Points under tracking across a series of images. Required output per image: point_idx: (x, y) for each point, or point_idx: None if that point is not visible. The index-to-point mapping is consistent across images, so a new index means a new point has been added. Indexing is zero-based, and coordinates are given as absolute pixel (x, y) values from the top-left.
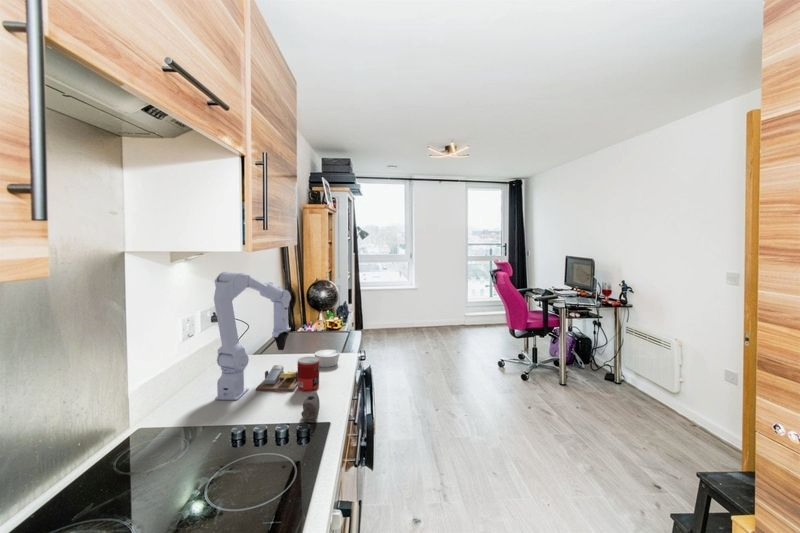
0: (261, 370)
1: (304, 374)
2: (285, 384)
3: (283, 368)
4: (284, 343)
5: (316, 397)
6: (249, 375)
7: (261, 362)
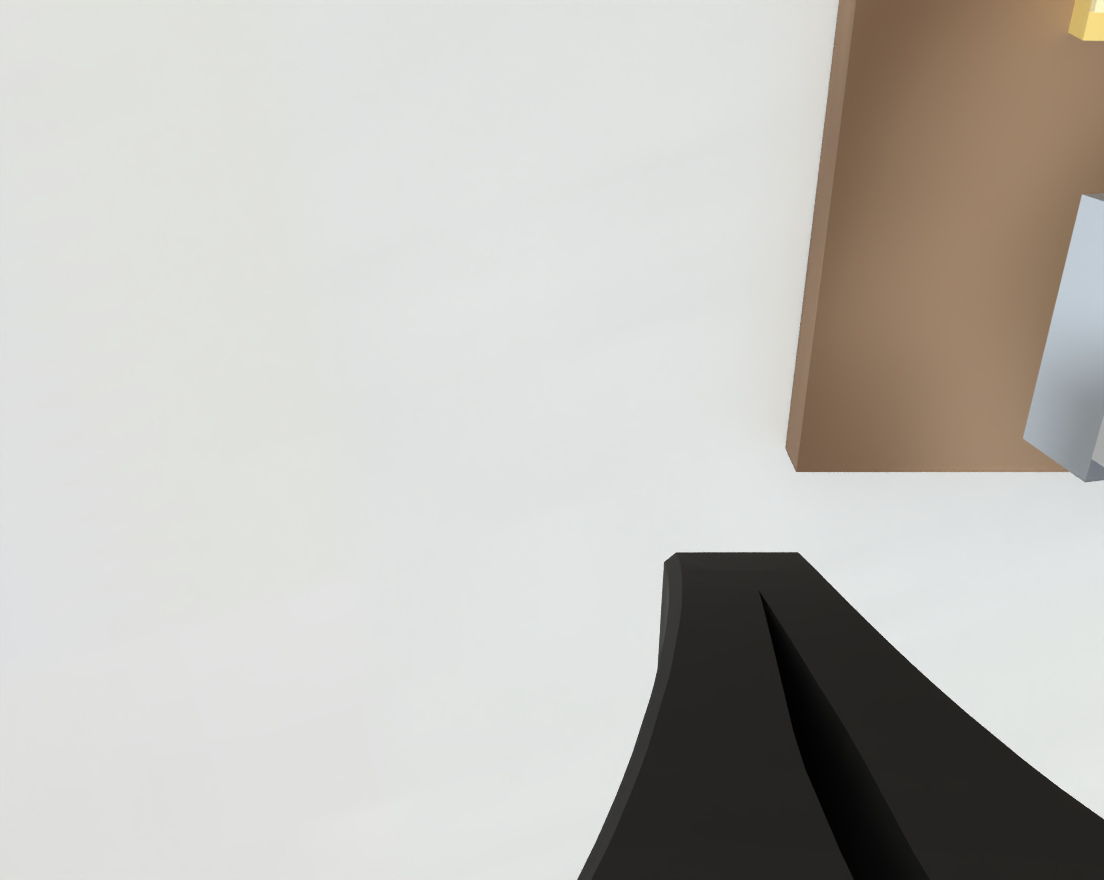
0: (526, 686)
1: None
2: None
3: (1102, 202)
4: (837, 705)
5: None
6: None
7: (121, 810)
